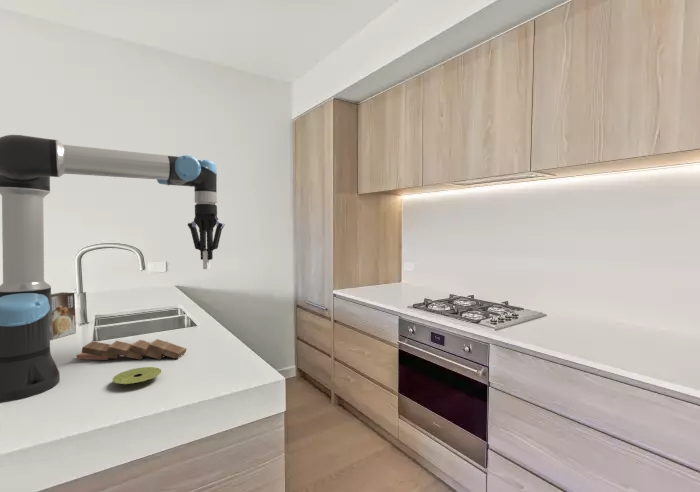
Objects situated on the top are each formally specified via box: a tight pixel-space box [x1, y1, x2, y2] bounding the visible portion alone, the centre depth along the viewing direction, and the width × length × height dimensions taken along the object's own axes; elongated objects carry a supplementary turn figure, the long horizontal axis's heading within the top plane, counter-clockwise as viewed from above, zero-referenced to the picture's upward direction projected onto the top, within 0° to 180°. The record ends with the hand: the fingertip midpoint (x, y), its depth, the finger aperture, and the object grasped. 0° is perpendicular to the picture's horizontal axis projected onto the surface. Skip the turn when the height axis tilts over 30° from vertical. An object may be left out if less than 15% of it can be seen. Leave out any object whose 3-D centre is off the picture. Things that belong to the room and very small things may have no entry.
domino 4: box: [129, 339, 166, 360], centre depth 115 cm, size 2×5×10 cm
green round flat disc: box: [112, 366, 162, 385], centre depth 96 cm, size 11×11×2 cm
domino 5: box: [147, 338, 187, 359], centre depth 115 cm, size 2×5×10 cm
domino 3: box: [107, 340, 146, 360], centre depth 114 cm, size 2×5×10 cm
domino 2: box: [81, 340, 121, 360], centre depth 113 cm, size 2×5×10 cm
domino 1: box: [76, 352, 109, 360], centre depth 115 cm, size 2×5×10 cm
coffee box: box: [50, 292, 77, 340], centre depth 137 cm, size 9×6×16 cm
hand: (206, 268), depth 131 cm, fingers closed
